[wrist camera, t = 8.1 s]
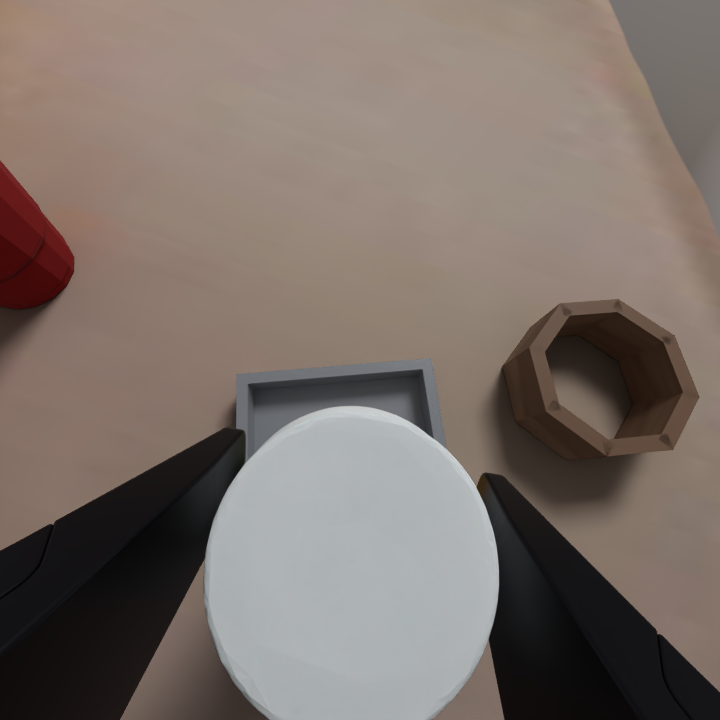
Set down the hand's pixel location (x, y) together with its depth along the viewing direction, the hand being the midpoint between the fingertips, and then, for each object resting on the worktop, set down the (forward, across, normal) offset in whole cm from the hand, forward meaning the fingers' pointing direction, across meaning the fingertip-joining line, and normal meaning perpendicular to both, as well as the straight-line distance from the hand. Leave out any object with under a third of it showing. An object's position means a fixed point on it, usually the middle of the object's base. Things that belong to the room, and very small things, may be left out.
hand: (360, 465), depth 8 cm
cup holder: (+15, -13, +4) cm, 20 cm away
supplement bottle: (+4, 0, +6) cm, 7 cm away
